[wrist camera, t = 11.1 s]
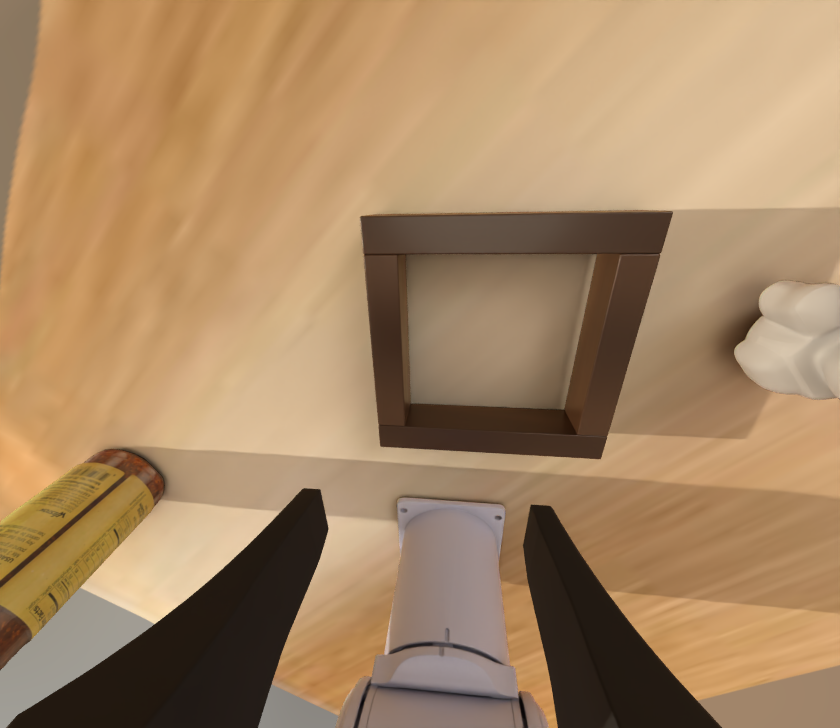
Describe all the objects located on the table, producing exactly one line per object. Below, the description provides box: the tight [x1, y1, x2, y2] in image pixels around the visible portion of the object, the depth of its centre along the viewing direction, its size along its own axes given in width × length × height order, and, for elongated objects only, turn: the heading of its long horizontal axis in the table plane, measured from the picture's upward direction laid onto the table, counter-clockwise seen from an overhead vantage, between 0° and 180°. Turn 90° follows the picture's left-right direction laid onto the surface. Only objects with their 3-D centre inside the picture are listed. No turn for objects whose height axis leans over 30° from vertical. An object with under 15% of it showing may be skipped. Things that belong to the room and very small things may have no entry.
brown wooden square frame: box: [360, 210, 673, 459], centre depth 17 cm, size 13×13×2 cm
